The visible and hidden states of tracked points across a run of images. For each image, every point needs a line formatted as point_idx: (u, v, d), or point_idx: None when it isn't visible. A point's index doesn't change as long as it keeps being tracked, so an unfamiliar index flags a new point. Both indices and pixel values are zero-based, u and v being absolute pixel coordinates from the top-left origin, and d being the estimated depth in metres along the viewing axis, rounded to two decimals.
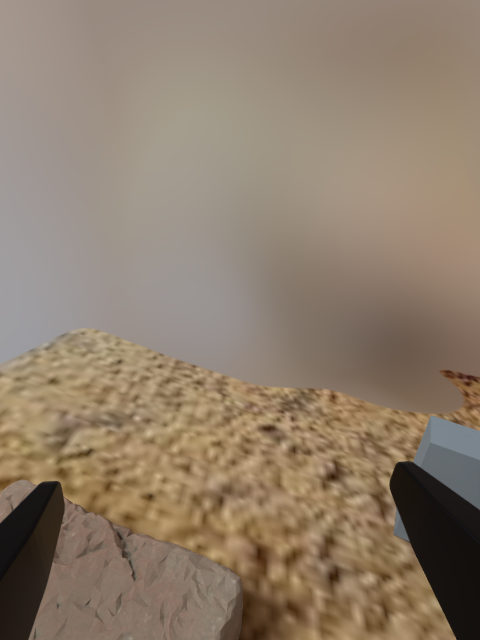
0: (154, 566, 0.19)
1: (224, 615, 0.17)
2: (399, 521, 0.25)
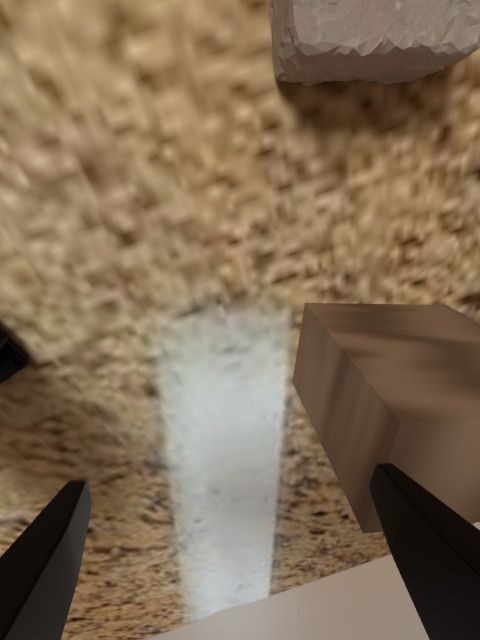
0: None
1: (437, 42, 0.14)
2: None
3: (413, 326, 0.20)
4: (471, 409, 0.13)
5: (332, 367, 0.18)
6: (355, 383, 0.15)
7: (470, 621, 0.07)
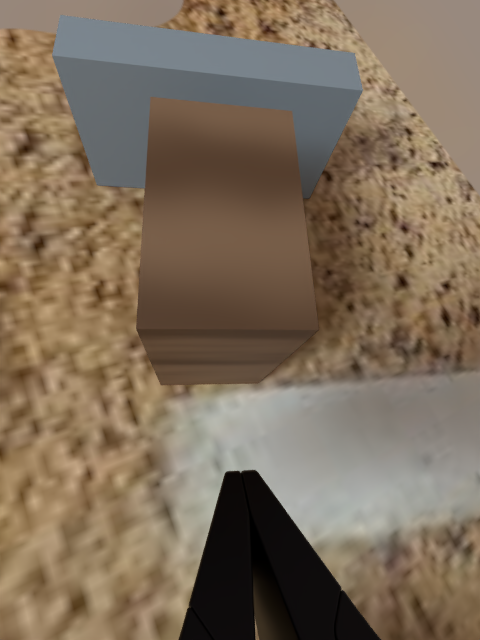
0: None
1: None
2: (92, 170, 0.24)
3: None
4: None
5: (182, 366, 0.16)
6: (165, 354, 0.14)
7: None
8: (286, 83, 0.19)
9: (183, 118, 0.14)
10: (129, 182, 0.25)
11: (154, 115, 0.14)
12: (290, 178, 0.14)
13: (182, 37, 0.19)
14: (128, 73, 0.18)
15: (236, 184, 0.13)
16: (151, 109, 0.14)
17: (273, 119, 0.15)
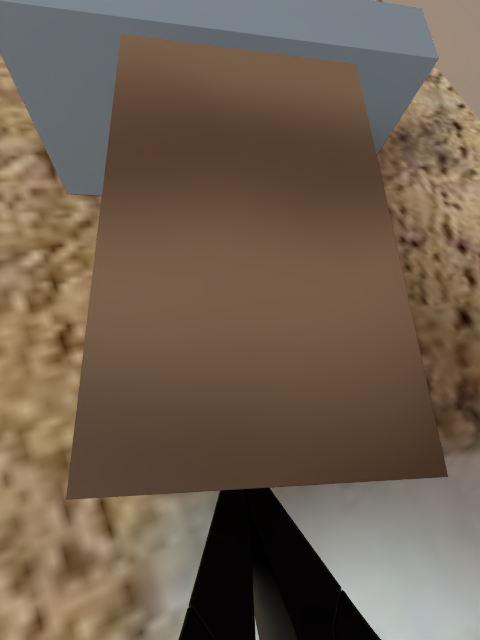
0: None
1: None
2: (58, 174, 0.18)
3: None
4: None
5: None
6: None
7: None
8: (330, 46, 0.13)
9: (176, 70, 0.08)
10: None
11: (126, 63, 0.08)
12: (363, 173, 0.08)
13: None
14: (94, 29, 0.12)
15: (271, 183, 0.07)
16: (121, 54, 0.08)
17: (328, 76, 0.09)
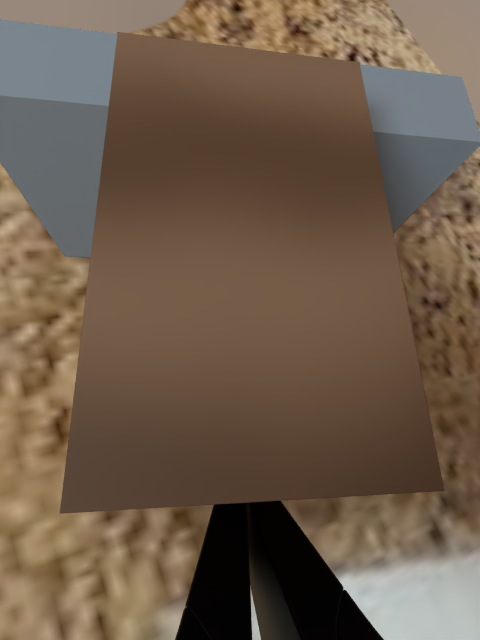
0: None
1: None
2: (54, 240, 0.16)
3: None
4: None
5: None
6: None
7: None
8: None
9: (174, 69, 0.08)
10: None
11: (123, 63, 0.08)
12: (365, 177, 0.08)
13: None
14: (91, 119, 0.10)
15: (270, 187, 0.07)
16: (118, 53, 0.08)
17: (330, 75, 0.09)
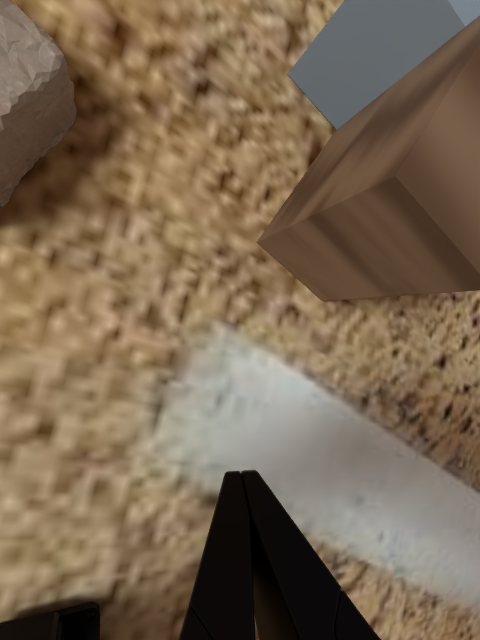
0: None
1: (27, 83, 0.14)
2: (300, 59, 0.21)
3: (332, 157, 0.20)
4: (425, 116, 0.12)
5: (321, 239, 0.17)
6: (343, 218, 0.15)
7: None
8: None
9: None
10: (317, 98, 0.22)
11: None
12: None
13: None
14: (439, 12, 0.15)
15: None
16: None
17: None
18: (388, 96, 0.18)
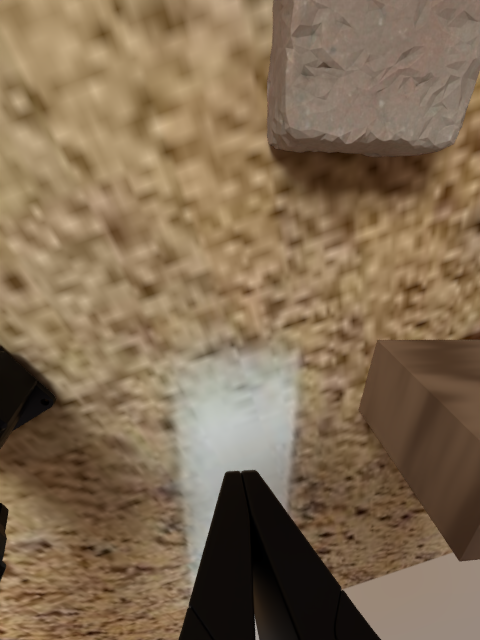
0: (461, 8, 0.13)
1: (415, 137, 0.15)
2: None
3: None
4: None
5: (417, 406, 0.20)
6: (448, 426, 0.17)
7: None
8: None
9: None
10: None
11: None
12: None
13: None
14: None
15: None
16: None
17: None
18: None
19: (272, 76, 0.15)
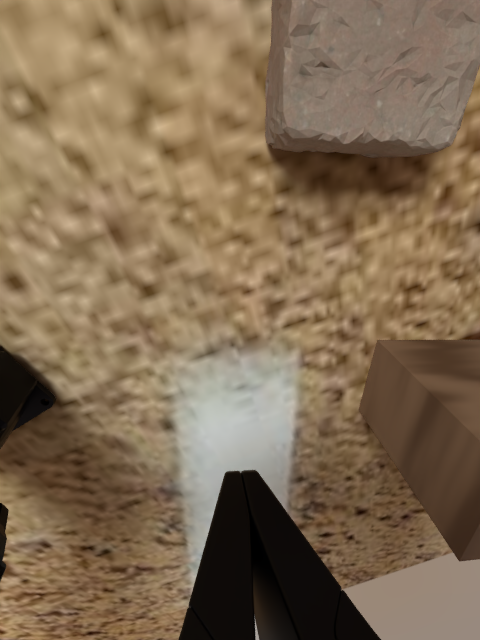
0: (459, 9, 0.13)
1: (412, 138, 0.15)
2: None
3: None
4: None
5: (417, 405, 0.20)
6: (448, 426, 0.17)
7: None
8: None
9: None
10: None
11: None
12: None
13: None
14: None
15: None
16: None
17: None
18: None
19: (270, 75, 0.15)
